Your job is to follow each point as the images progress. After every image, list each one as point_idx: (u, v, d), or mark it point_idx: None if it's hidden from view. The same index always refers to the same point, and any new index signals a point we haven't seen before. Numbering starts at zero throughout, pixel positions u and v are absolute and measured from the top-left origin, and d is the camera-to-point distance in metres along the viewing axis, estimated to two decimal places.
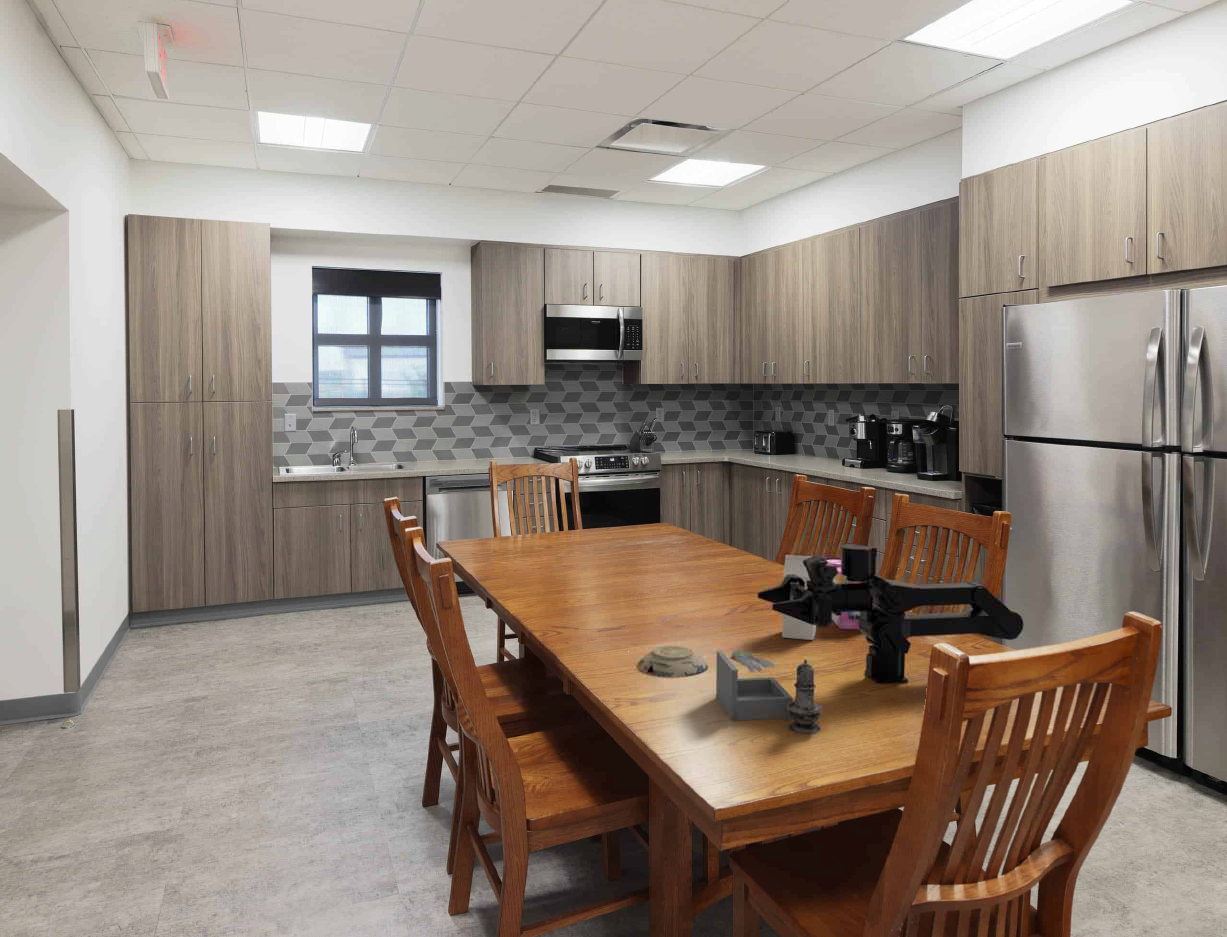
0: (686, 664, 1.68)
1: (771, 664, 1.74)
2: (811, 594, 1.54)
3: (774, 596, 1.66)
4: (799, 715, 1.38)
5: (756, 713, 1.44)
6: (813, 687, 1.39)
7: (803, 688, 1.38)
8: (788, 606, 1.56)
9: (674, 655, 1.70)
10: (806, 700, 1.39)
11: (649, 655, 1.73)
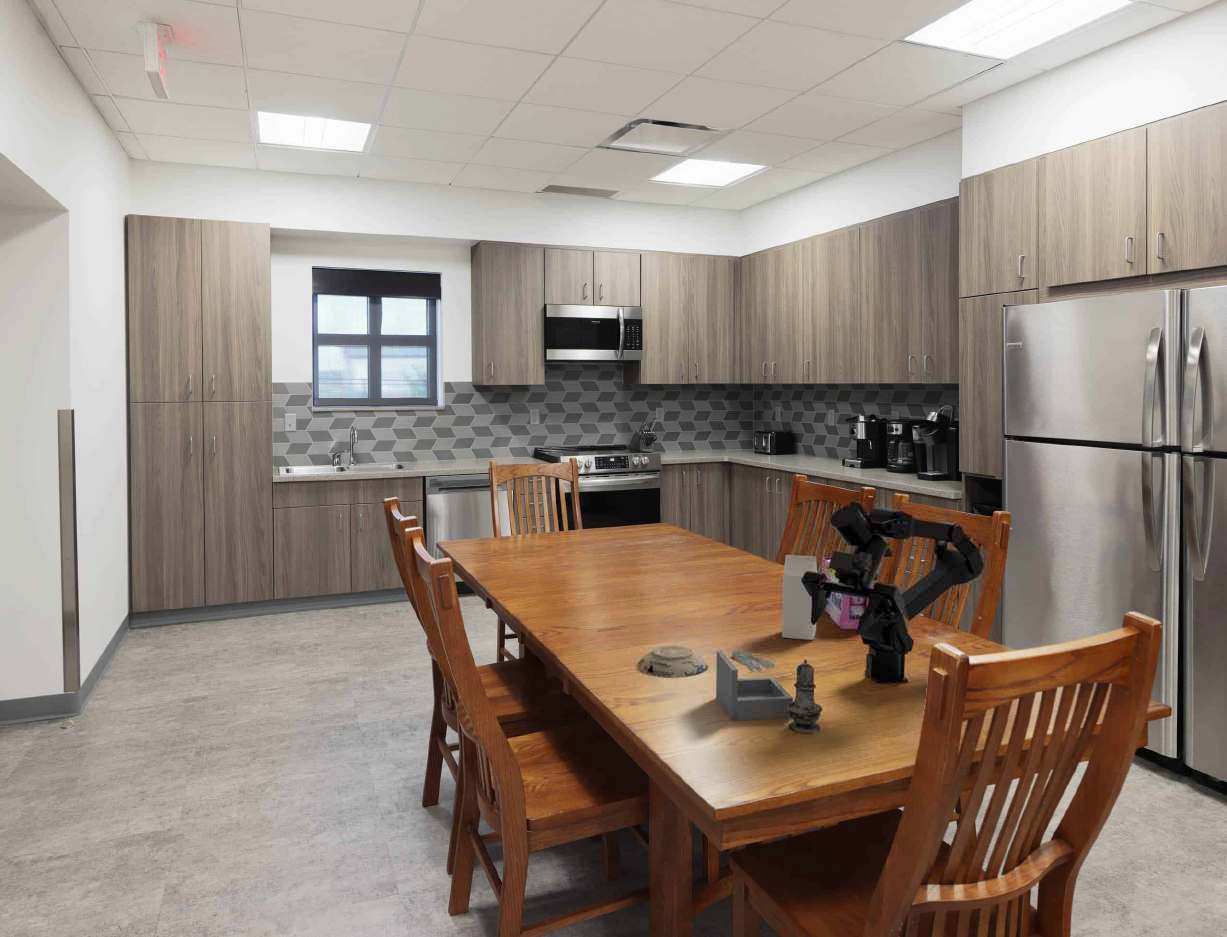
0: (686, 664, 1.68)
1: (771, 664, 1.74)
2: (880, 596, 1.48)
3: (819, 609, 1.57)
4: (799, 715, 1.38)
5: (756, 713, 1.44)
6: (813, 687, 1.39)
7: (803, 688, 1.38)
8: (868, 620, 1.49)
9: (674, 655, 1.70)
10: (806, 700, 1.39)
11: (649, 655, 1.73)
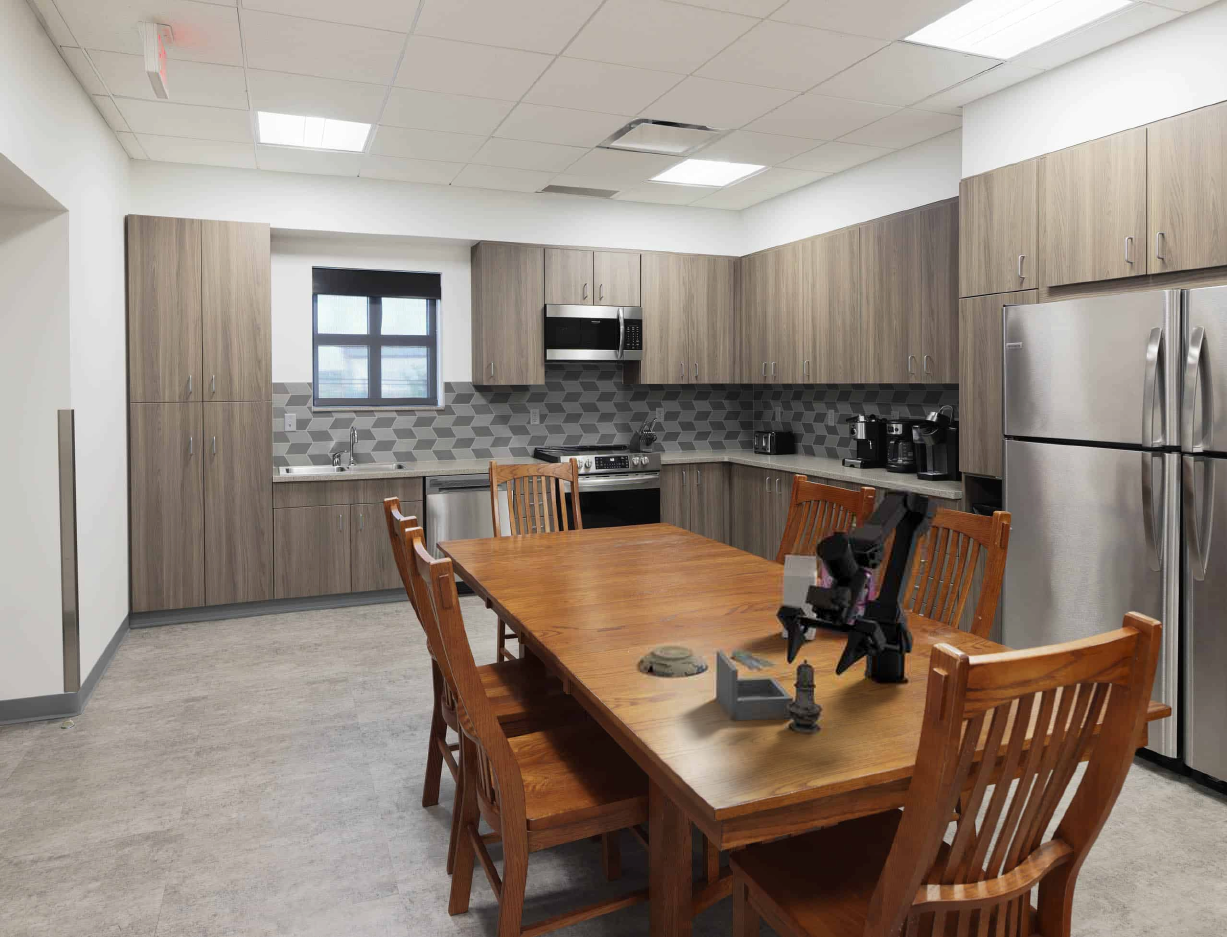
0: (686, 664, 1.68)
1: (771, 664, 1.74)
2: (860, 634, 1.38)
3: (796, 646, 1.47)
4: (799, 715, 1.38)
5: (756, 713, 1.44)
6: (813, 687, 1.39)
7: (803, 688, 1.38)
8: (848, 660, 1.39)
9: (674, 655, 1.70)
10: (806, 700, 1.39)
11: (649, 655, 1.73)
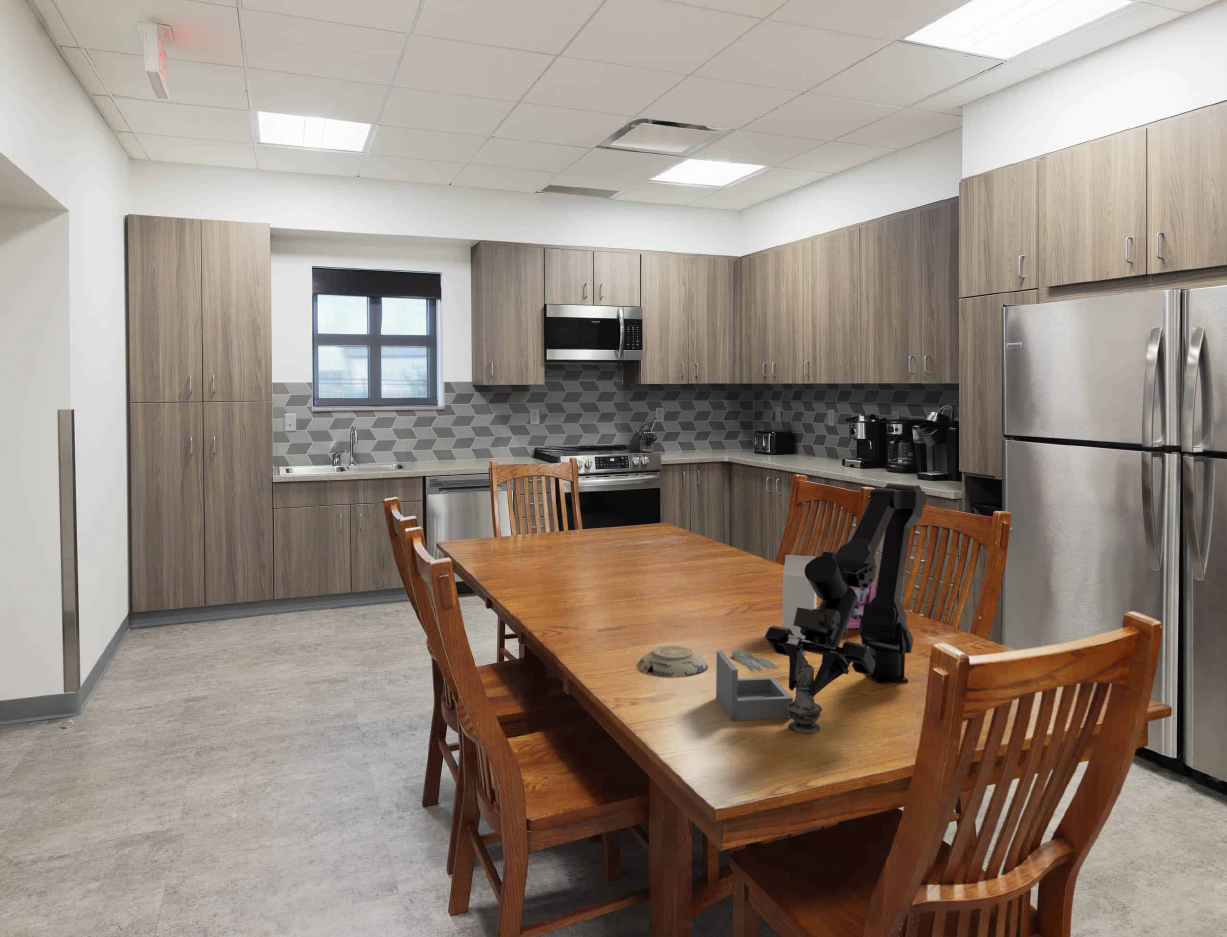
0: (687, 664, 1.68)
1: (771, 664, 1.74)
2: (834, 655, 1.37)
3: None
4: (799, 715, 1.38)
5: (756, 713, 1.44)
6: None
7: (803, 688, 1.38)
8: (822, 681, 1.38)
9: (674, 655, 1.70)
10: (806, 700, 1.39)
11: (649, 655, 1.73)
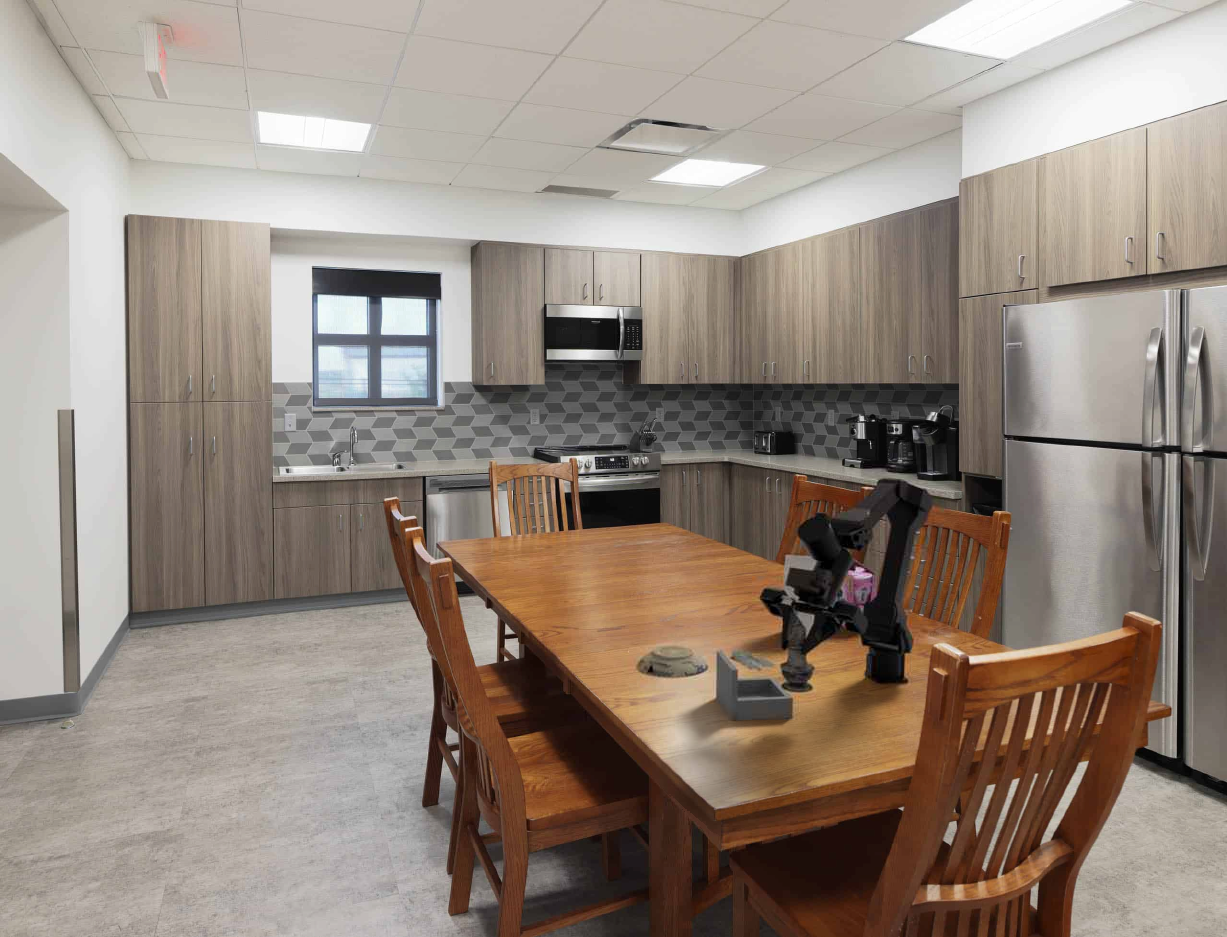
0: (686, 664, 1.68)
1: (771, 664, 1.74)
2: (826, 614, 1.38)
3: None
4: (791, 674, 1.39)
5: (756, 713, 1.44)
6: None
7: (795, 647, 1.39)
8: (813, 640, 1.39)
9: (674, 655, 1.70)
10: (797, 659, 1.39)
11: (649, 655, 1.73)
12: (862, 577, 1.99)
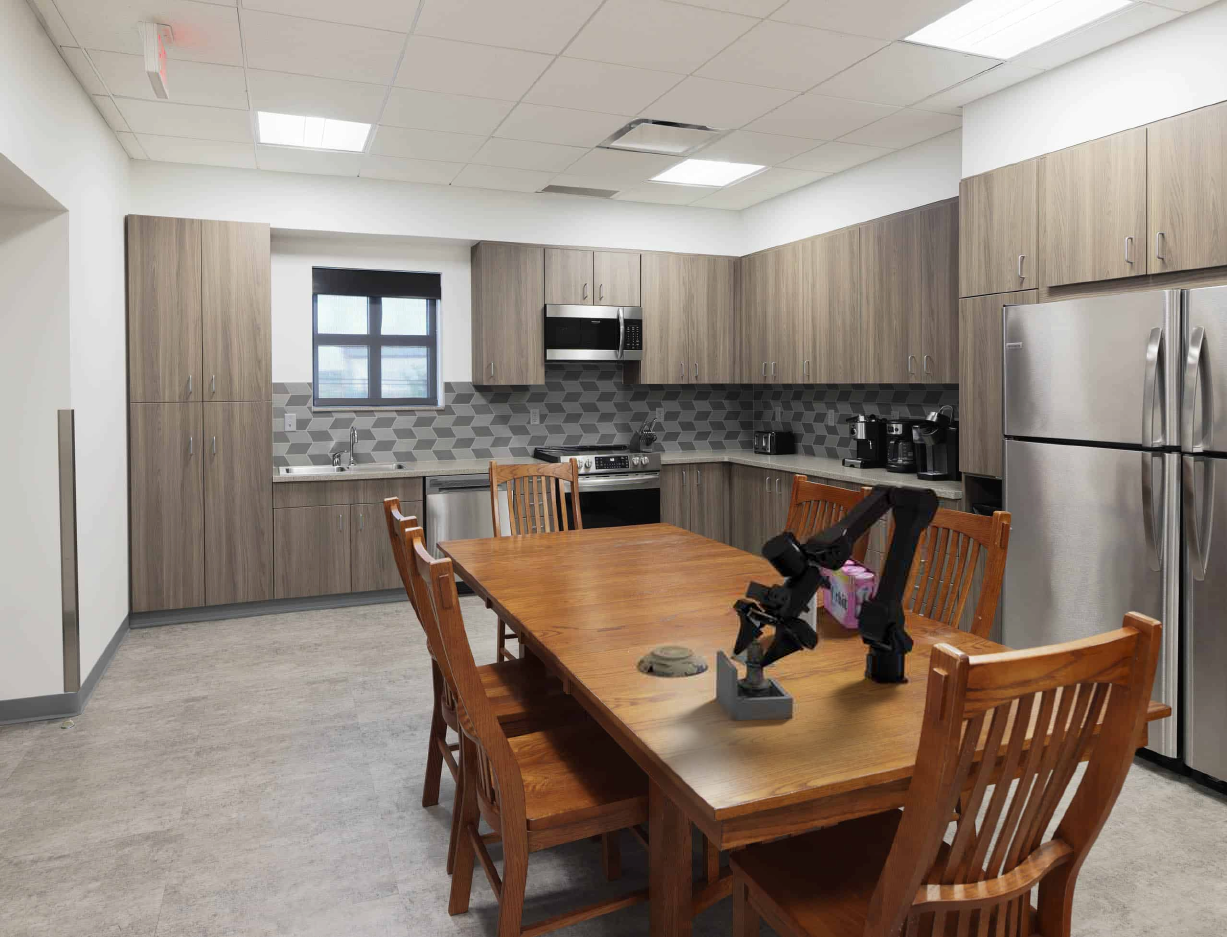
0: (686, 664, 1.68)
1: (771, 664, 1.74)
2: (783, 630, 1.43)
3: (746, 640, 1.53)
4: (744, 689, 1.48)
5: (756, 713, 1.44)
6: None
7: (750, 664, 1.48)
8: (772, 654, 1.45)
9: (674, 655, 1.70)
10: (752, 676, 1.48)
11: (649, 655, 1.73)
12: (864, 577, 1.99)
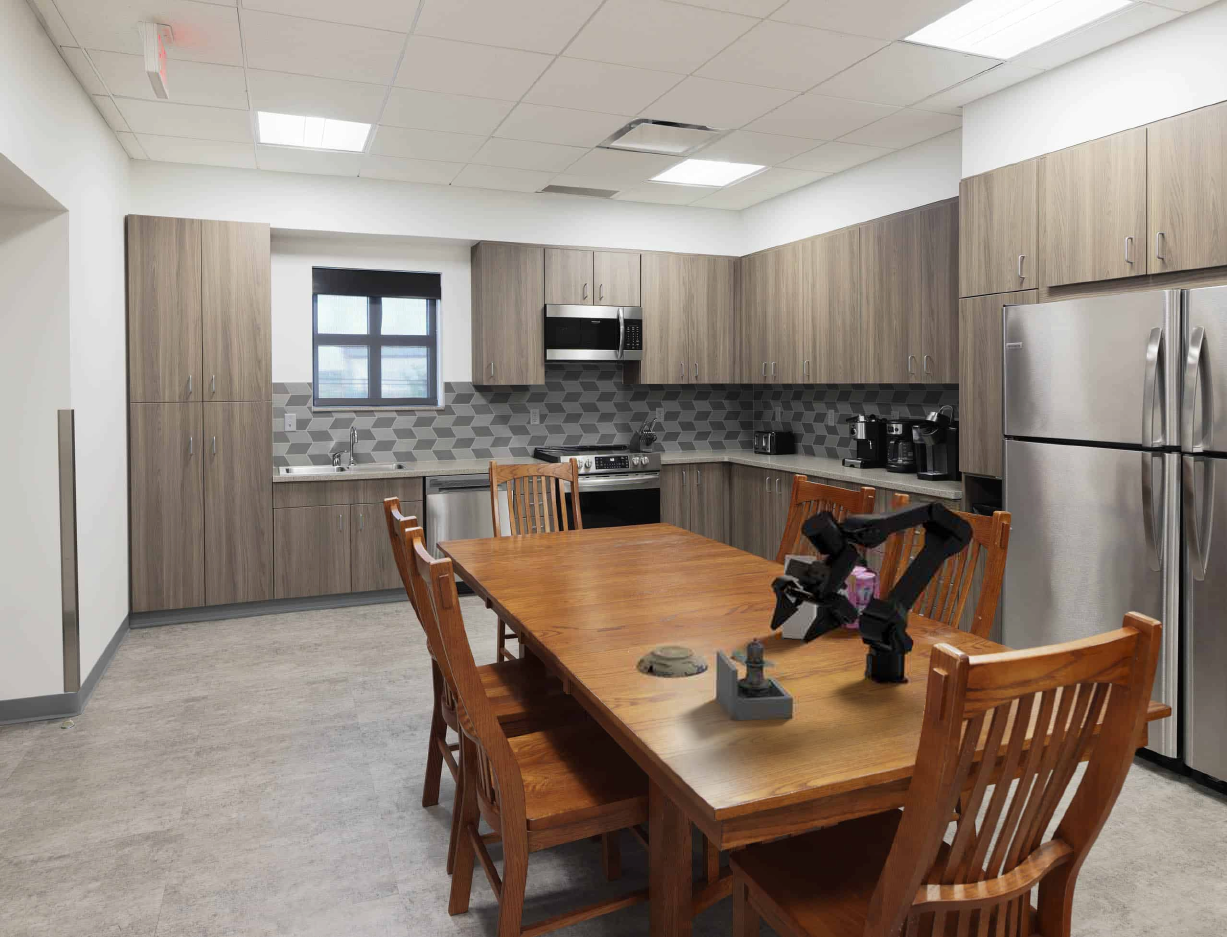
0: (686, 664, 1.68)
1: (771, 664, 1.74)
2: (827, 606, 1.47)
3: (782, 615, 1.57)
4: (744, 689, 1.48)
5: (756, 713, 1.44)
6: (760, 664, 1.48)
7: (749, 664, 1.48)
8: (816, 630, 1.48)
9: (674, 655, 1.70)
10: (752, 676, 1.48)
11: (649, 655, 1.73)
12: (865, 577, 2.00)
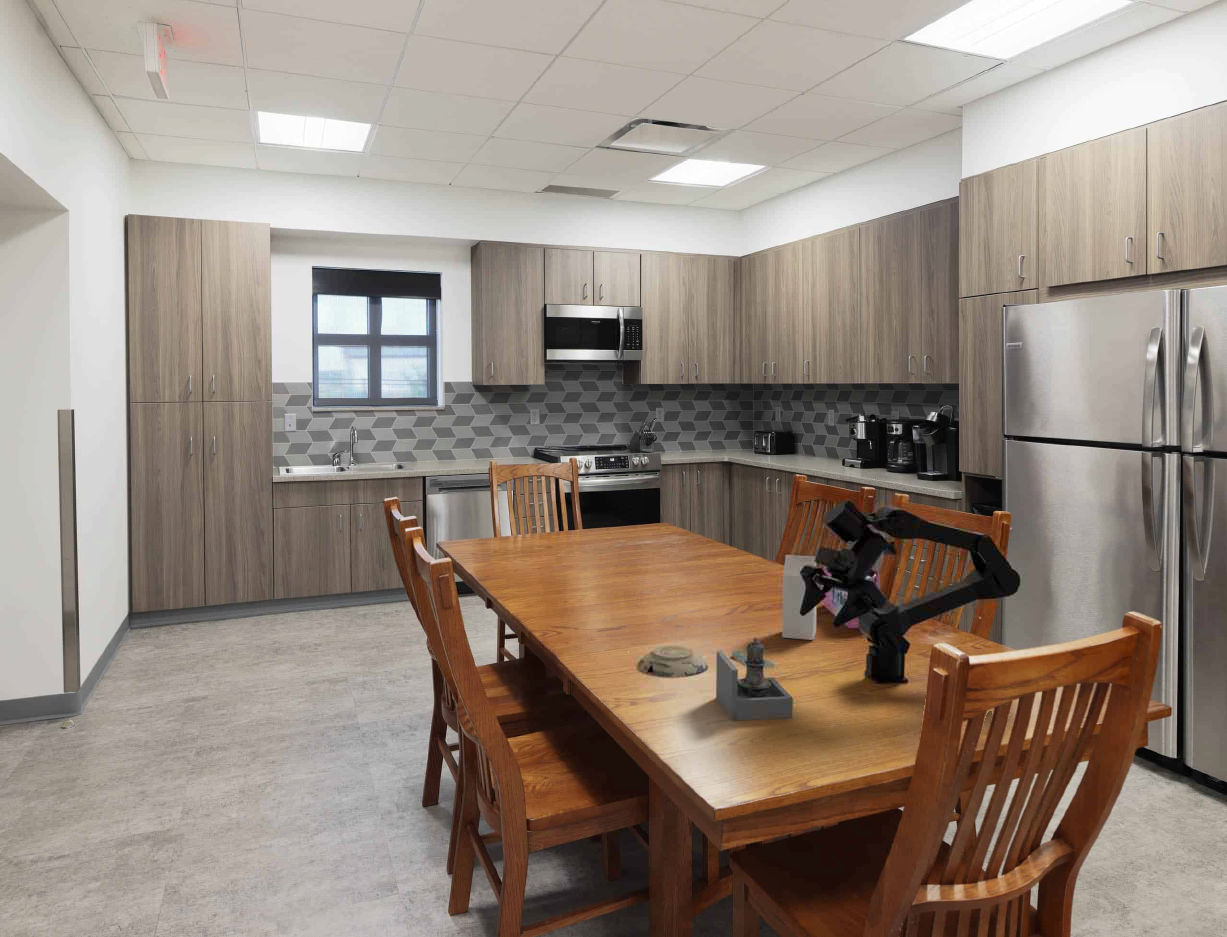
0: (686, 664, 1.68)
1: (770, 664, 1.74)
2: (856, 592, 1.52)
3: (811, 601, 1.63)
4: (744, 689, 1.48)
5: (756, 713, 1.44)
6: (760, 664, 1.48)
7: (750, 664, 1.48)
8: (845, 614, 1.54)
9: (674, 655, 1.70)
10: (752, 676, 1.48)
11: (649, 655, 1.73)
12: None
